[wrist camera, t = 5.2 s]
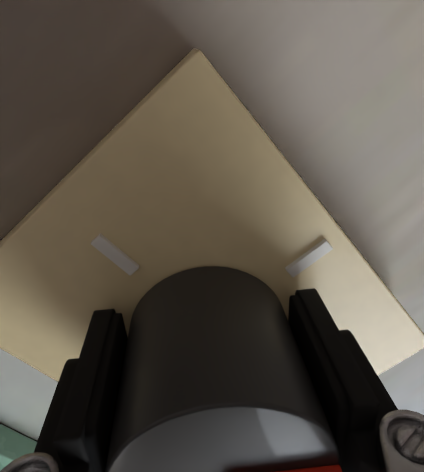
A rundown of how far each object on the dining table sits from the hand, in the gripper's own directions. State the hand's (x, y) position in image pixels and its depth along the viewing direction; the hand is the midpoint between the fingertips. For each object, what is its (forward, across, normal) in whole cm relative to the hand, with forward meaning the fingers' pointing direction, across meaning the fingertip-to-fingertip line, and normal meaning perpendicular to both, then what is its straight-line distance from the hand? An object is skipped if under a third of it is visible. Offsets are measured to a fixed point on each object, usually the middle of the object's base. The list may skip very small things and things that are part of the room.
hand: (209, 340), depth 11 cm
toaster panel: (+3, 0, 0) cm, 3 cm away
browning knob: (0, 0, 0) cm, 0 cm away
